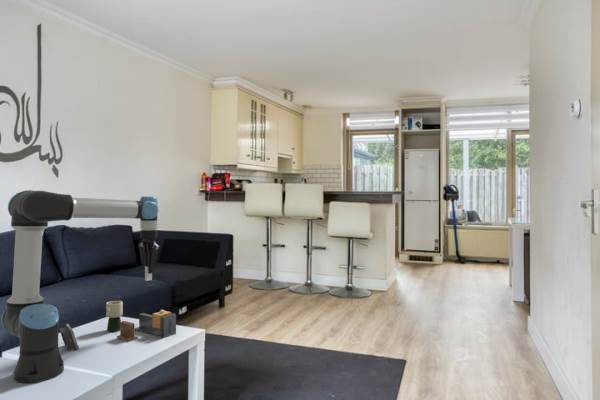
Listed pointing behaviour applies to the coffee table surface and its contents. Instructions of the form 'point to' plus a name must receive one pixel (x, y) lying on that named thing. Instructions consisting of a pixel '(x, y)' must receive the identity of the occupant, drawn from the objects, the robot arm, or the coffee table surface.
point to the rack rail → (166, 328)
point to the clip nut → (159, 318)
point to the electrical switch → (69, 337)
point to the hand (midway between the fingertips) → (148, 280)
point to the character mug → (114, 314)
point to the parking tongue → (127, 331)
